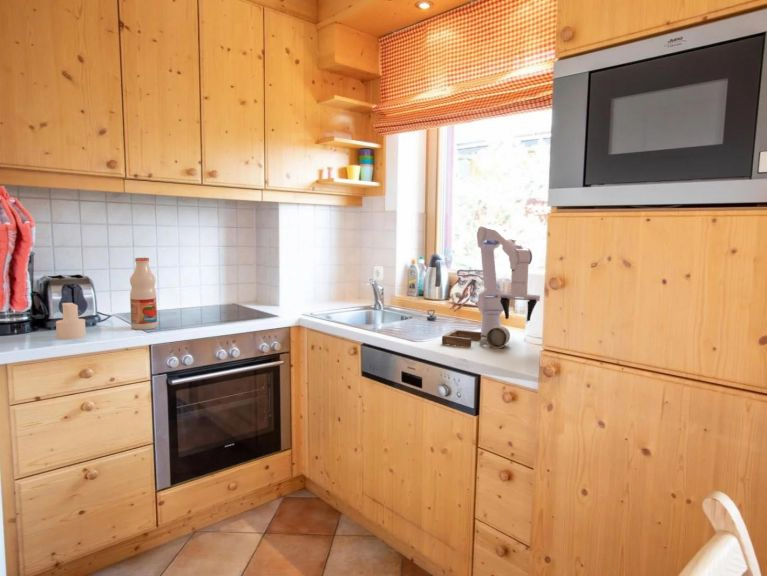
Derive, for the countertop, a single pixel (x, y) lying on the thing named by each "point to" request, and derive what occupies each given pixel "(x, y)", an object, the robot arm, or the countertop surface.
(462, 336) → the brown wooden tray
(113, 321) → the countertop surface
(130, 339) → the countertop surface
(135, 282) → the fruit juice
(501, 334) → the ceramic mug
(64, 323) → the base with upright slab
